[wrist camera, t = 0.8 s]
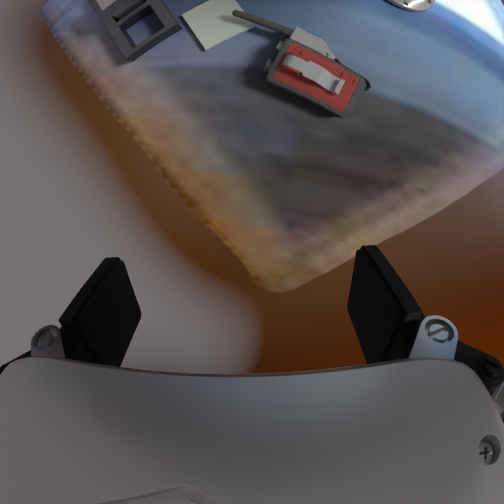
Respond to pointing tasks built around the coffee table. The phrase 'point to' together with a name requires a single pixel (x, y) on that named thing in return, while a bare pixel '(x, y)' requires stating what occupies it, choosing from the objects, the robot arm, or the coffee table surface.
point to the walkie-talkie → (311, 70)
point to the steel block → (119, 7)
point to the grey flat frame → (120, 26)
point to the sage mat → (216, 22)
